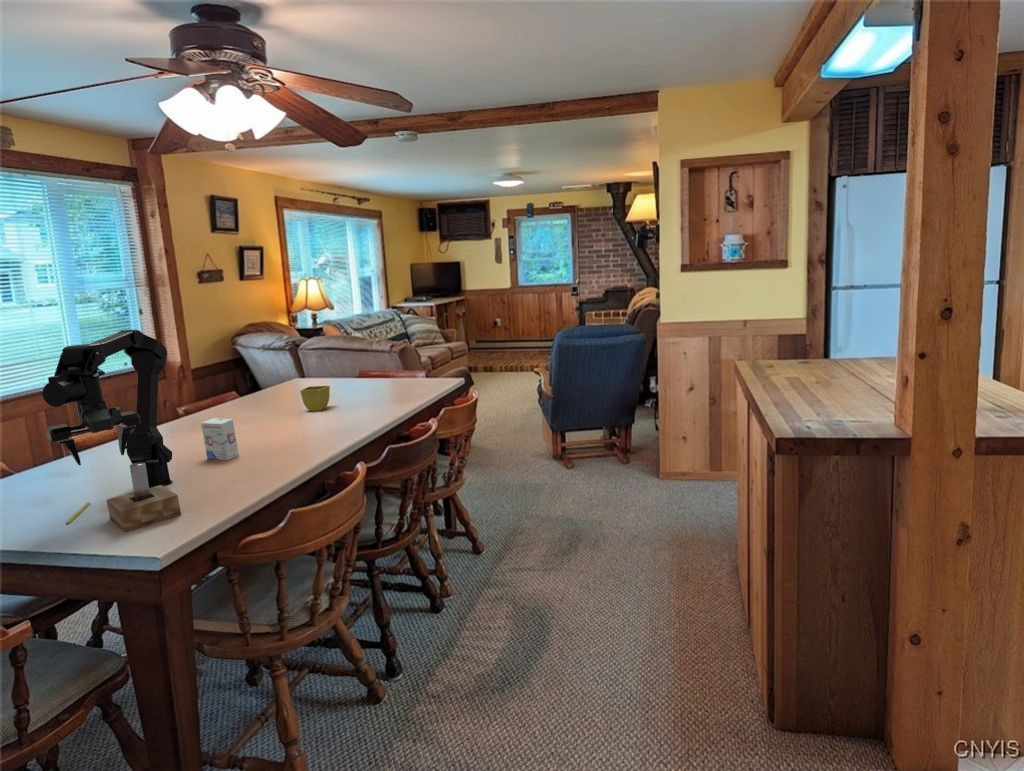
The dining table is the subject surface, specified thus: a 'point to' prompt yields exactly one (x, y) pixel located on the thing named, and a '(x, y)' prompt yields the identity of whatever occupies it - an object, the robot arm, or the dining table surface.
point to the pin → (140, 481)
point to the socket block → (143, 508)
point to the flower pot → (315, 397)
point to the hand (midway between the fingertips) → (101, 459)
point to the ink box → (220, 439)
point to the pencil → (78, 513)
